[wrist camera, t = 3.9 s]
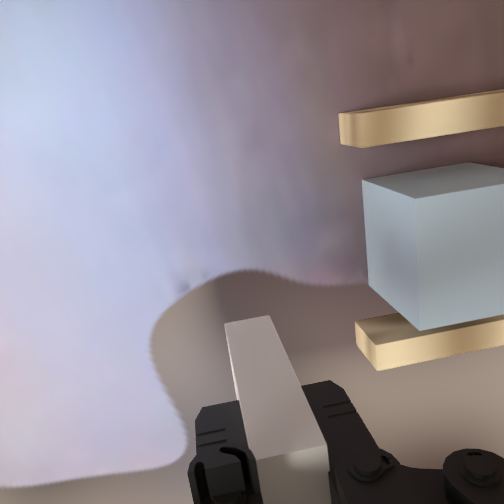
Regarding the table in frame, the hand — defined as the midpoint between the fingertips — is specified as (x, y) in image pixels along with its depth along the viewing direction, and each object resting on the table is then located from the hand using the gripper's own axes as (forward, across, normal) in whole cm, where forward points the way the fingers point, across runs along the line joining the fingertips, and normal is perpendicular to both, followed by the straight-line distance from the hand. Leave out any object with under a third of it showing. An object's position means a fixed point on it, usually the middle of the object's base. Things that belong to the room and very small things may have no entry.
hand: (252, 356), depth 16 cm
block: (+10, +11, 0) cm, 15 cm away
